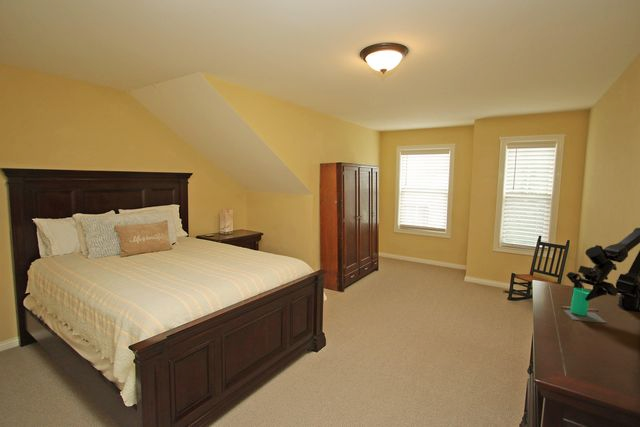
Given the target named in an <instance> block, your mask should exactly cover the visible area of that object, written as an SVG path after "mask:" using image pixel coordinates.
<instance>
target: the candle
mask: <svg viewBox="0 0 640 427" xmlns="http://www.w3.org/2000/svg"><path fill="white" fill-rule="evenodd" d="M573 289H574V291H573V290H572V293H573V295H572V297H571V298H572V299H571V302H570V307H571V308H570V309H569V311H571V312H573V313H575V314H578V315H583V316H584V315H587V312H589V310H588V308H589V305H590V301H591V300H588V301H586V300H585V299H586V297H587V295H588V294H589V293H590V292H591V290H590V289H587V288H574V287H573Z"/></svg>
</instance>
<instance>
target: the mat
mask: <svg viewBox="0 0 640 427" xmlns="http://www.w3.org/2000/svg"><path fill="white" fill-rule="evenodd" d="M562 311H563V312H564V313H565V314H566V315H567V316H568V317H569V318H570V319H571V320H572V321H579V322H581V321H582V322H589V323H601V324H607V321H605V319H603V318H602V317H600V316H599V315H598V314H597V313H595V312H590V311H587V315H584V316H583V315H578V314H575V313H573V312H571V311H570V309H568V310H566V309H563V310H562Z"/></svg>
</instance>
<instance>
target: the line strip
mask: <svg viewBox="0 0 640 427" xmlns="http://www.w3.org/2000/svg"><path fill="white" fill-rule="evenodd" d="M561 308H562V309H568V310H570V308H571V306H569V305H568V306H566V305H561ZM588 311H589V312H590V311H593V312H599V310H598V308H590V307H588Z"/></svg>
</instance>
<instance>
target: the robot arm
mask: <svg viewBox="0 0 640 427" xmlns="http://www.w3.org/2000/svg"><path fill="white" fill-rule="evenodd" d="M639 244H640V227H636V228H634V229H633V231H632V232H631V233H630V234H628V235H627V236H625V237H624V238H623V239H621V241H619V242H618V243H614V244H611V245H608V246H606V247H604V248H603V246H602V245H598V244H596V245H595V246H592V247H589V248H587V249H586V250H585V256H587V258H588V259H589V260H590V262H591V263H592V264H594V266H593V267H588V266H585V265H579V269H578V270H577V273H576V272H573V271H569V272H567V274H566V277H567V278H568V280H569V281H570V282H571V283H572V284H573V290H572V294H571V296H573V291H574V288H583V289H585V286H584V284H586V285H590V286H592V289H591V290H590V293H589V294H588V295H587V297H586V299H585V300H586V301H588V300H590V301H591V300H593V299H595V298H598V297H601V296H607V295H609V296H613V297H616V296H617V295H618V294H620V296H619V297H618V303H617V306H619V307H620V308H621V309H623V310H624V311H631V312H640V250H639V251H638V252H637V254H636V256H635V259H634V260H633V262H632V264H631V265H630V267H629V270H628V271H627V272H626V273H621V274H619V276H618V277H617V279H616V283H615V285H614V284H613V282H608V279H609V277H608V275H609V274H610V273H611V272H612V270H613V271H618V270H617V269H618V268H617V264H616V263H623V262H624V261H625V260H626V259H627V258H628V257H629V252H630V251H631V250H633V249H634V248H635V247H637V246H638V245H639ZM614 262H615V263H614ZM579 273H580V274H582V276H581V275H580V274H579ZM605 280H607V281H605Z"/></svg>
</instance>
